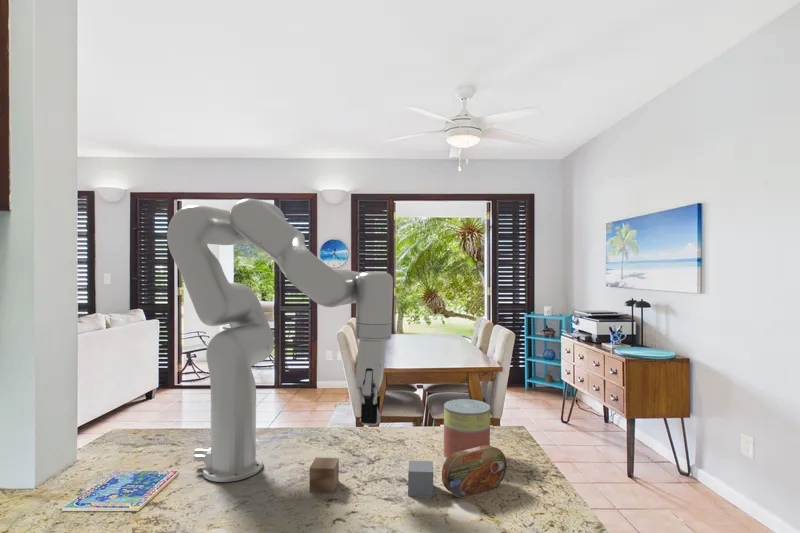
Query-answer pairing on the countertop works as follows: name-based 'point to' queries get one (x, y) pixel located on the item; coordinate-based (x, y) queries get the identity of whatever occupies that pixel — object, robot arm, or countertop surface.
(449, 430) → the canned food
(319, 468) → the walnut block
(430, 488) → the medium-grey block
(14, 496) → the countertop surface
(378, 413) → the rook chess piece
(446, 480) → the tin
